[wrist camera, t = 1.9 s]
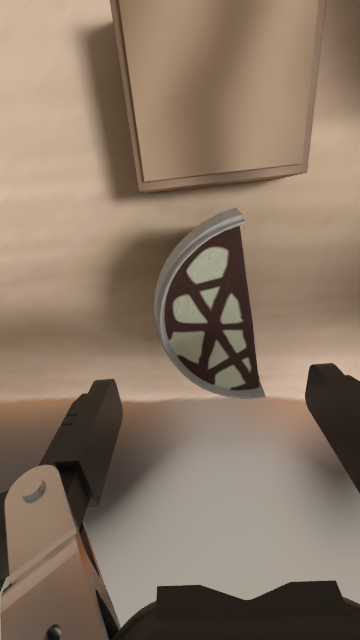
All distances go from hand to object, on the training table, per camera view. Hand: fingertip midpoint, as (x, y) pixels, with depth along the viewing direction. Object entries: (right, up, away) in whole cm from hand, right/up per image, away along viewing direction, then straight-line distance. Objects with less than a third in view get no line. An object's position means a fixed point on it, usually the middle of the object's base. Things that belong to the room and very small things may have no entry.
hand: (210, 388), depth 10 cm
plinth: (+1, +18, +7) cm, 20 cm away
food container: (0, +6, +13) cm, 15 cm away
